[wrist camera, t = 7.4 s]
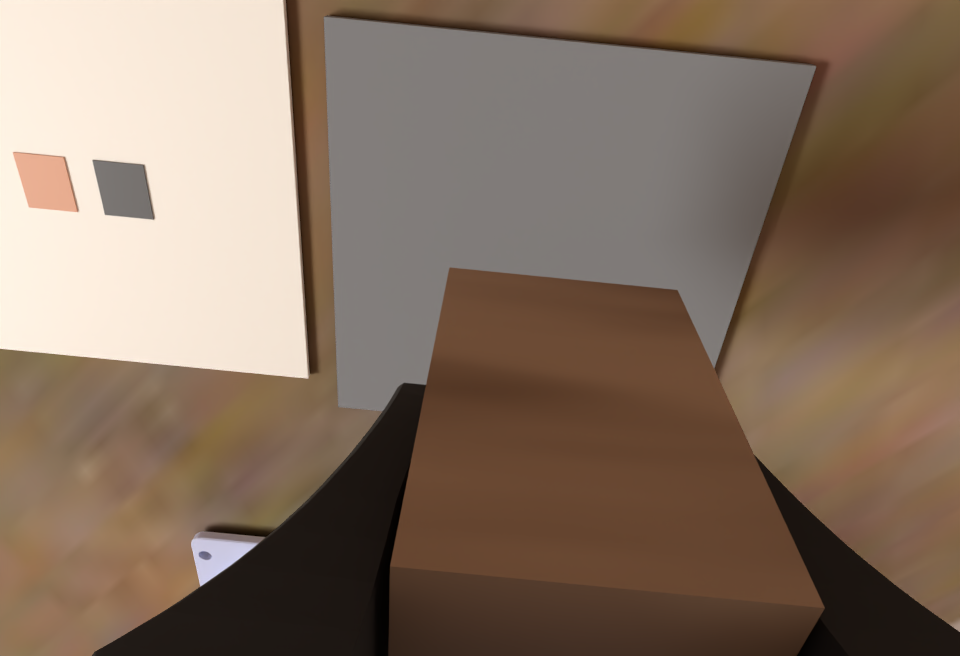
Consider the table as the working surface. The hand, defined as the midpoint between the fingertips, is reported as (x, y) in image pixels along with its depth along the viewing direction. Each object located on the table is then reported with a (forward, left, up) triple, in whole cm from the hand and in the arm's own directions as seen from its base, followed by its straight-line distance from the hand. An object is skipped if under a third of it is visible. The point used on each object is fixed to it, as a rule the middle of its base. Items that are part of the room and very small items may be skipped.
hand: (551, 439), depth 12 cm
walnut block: (0, 0, -2) cm, 2 cm away
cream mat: (+1, +13, -8) cm, 15 cm away
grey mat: (0, 0, -8) cm, 8 cm away
